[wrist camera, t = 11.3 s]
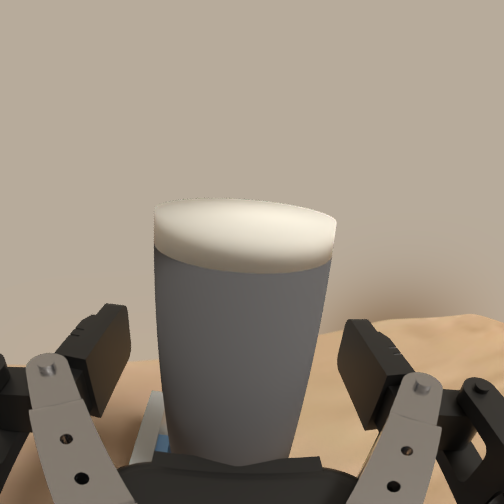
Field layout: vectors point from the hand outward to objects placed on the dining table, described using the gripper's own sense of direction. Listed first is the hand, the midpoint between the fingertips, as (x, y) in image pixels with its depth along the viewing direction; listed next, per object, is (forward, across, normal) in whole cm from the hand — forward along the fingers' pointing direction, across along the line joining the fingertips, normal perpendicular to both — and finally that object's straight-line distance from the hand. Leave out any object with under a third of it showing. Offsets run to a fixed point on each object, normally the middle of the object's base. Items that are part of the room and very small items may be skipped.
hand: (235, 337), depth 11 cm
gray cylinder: (-2, 0, +10) cm, 10 cm away
